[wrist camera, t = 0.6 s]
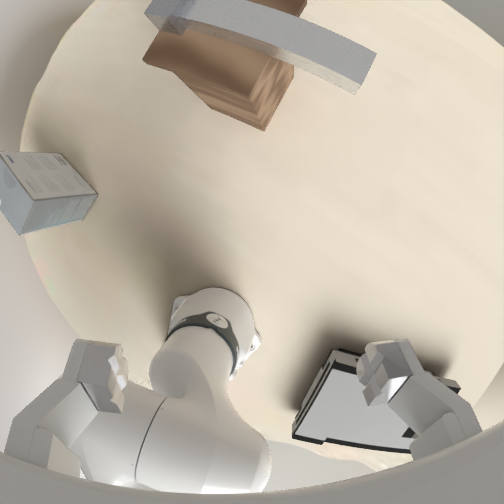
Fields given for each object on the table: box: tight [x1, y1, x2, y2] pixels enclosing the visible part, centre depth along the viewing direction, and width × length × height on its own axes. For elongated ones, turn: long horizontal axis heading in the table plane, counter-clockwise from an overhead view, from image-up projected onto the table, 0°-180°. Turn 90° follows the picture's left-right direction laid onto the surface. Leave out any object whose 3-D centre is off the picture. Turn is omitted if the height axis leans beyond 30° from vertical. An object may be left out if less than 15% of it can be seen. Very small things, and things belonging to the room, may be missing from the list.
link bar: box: [144, 0, 377, 95], centre depth 24 cm, size 6×22×4 cm, turn 64°
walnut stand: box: [142, 0, 307, 131], centre depth 38 cm, size 14×13×26 cm
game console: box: [292, 348, 461, 454], centre depth 56 cm, size 21×32×8 cm, turn 72°
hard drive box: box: [0, 151, 98, 236], centre depth 49 cm, size 16×8×20 cm, turn 49°
